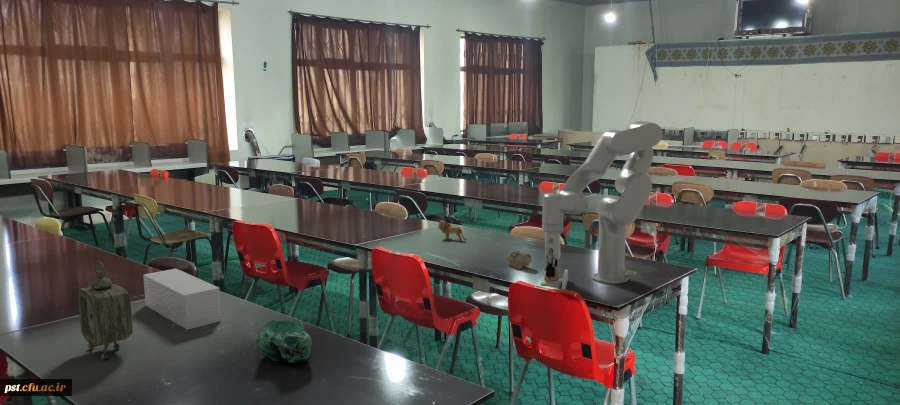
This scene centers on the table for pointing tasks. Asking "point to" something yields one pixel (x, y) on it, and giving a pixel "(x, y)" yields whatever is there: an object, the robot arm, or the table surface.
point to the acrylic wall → (564, 279)
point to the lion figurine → (450, 230)
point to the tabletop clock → (104, 313)
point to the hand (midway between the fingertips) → (551, 273)
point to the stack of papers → (182, 298)
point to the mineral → (284, 341)
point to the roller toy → (552, 279)
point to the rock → (518, 259)
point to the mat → (551, 283)
